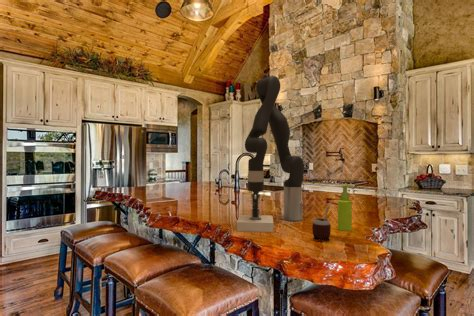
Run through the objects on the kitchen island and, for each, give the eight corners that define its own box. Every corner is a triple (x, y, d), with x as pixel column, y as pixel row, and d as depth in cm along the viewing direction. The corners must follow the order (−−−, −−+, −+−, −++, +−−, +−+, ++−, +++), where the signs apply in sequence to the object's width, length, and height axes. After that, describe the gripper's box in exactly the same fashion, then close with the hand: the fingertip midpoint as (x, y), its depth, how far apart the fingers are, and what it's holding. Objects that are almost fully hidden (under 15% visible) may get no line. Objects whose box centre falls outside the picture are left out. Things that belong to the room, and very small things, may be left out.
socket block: (272, 223, 144) (272, 215, 144) (273, 232, 128) (273, 223, 128) (239, 222, 146) (239, 214, 146) (236, 231, 130) (236, 222, 130)
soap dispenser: (352, 232, 129) (352, 186, 129) (336, 229, 133) (336, 185, 133) (355, 229, 134) (355, 185, 134) (339, 227, 138) (339, 184, 138)
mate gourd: (311, 241, 115) (311, 203, 115) (313, 235, 123) (313, 200, 123) (331, 243, 113) (331, 204, 113) (332, 237, 120) (332, 201, 120)
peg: (259, 226, 138) (259, 208, 138) (259, 228, 135) (259, 209, 135) (251, 226, 139) (251, 208, 139) (251, 228, 135) (251, 209, 135)
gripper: (263, 182, 129) (263, 218, 129) (263, 179, 144) (263, 212, 144) (246, 181, 130) (246, 218, 130) (248, 179, 144) (248, 212, 144)
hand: (255, 215), depth 137 cm, fingers open, 8 cm apart
